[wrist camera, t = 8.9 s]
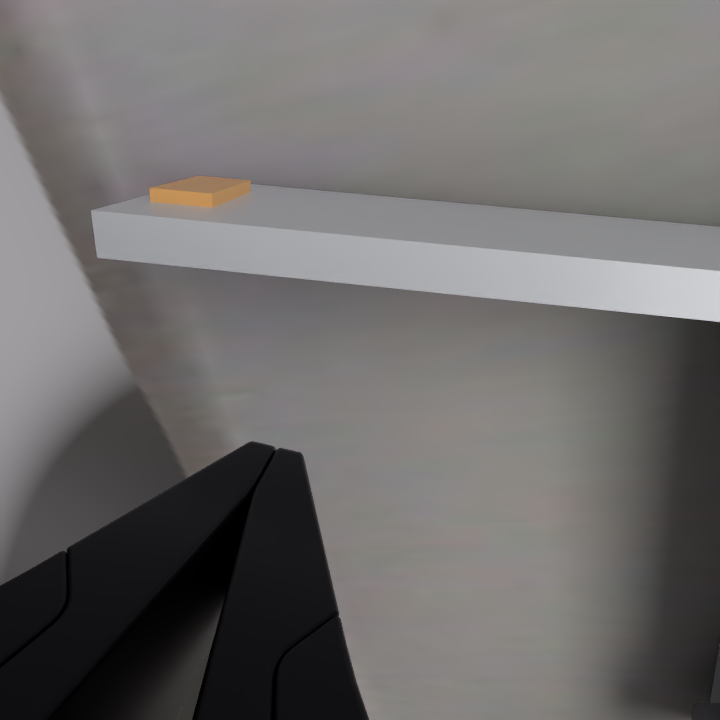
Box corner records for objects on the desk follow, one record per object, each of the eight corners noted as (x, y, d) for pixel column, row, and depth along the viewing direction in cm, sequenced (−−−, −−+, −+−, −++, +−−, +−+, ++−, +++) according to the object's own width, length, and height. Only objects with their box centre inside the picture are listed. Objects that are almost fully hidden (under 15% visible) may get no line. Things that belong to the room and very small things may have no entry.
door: (205, 216, 14) (97, 263, 9) (203, 169, 13) (89, 194, 9) (767, 270, 13) (955, 352, 8) (787, 221, 12) (997, 280, 8)
